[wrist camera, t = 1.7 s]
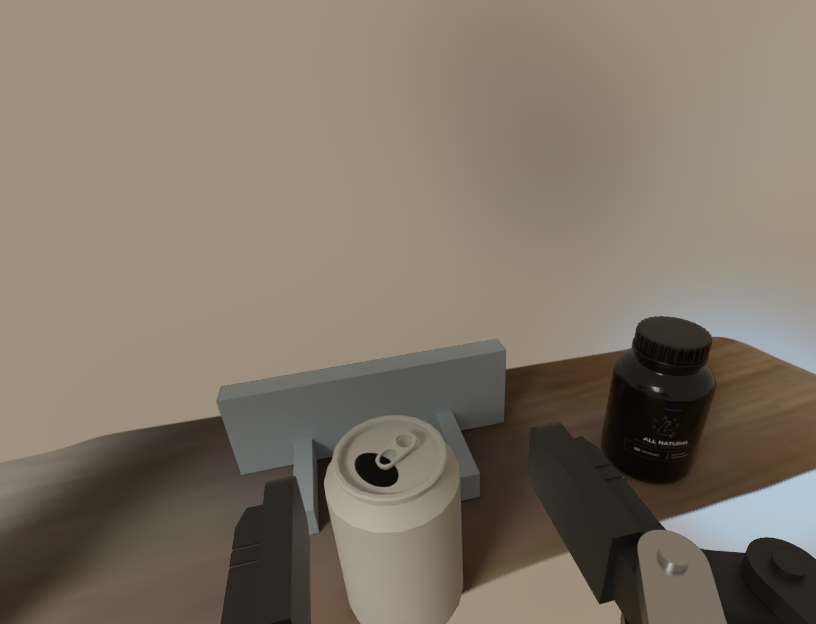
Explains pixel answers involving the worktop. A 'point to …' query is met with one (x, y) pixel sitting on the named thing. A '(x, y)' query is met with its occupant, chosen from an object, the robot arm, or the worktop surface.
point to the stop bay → (364, 409)
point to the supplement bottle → (659, 400)
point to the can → (397, 521)
